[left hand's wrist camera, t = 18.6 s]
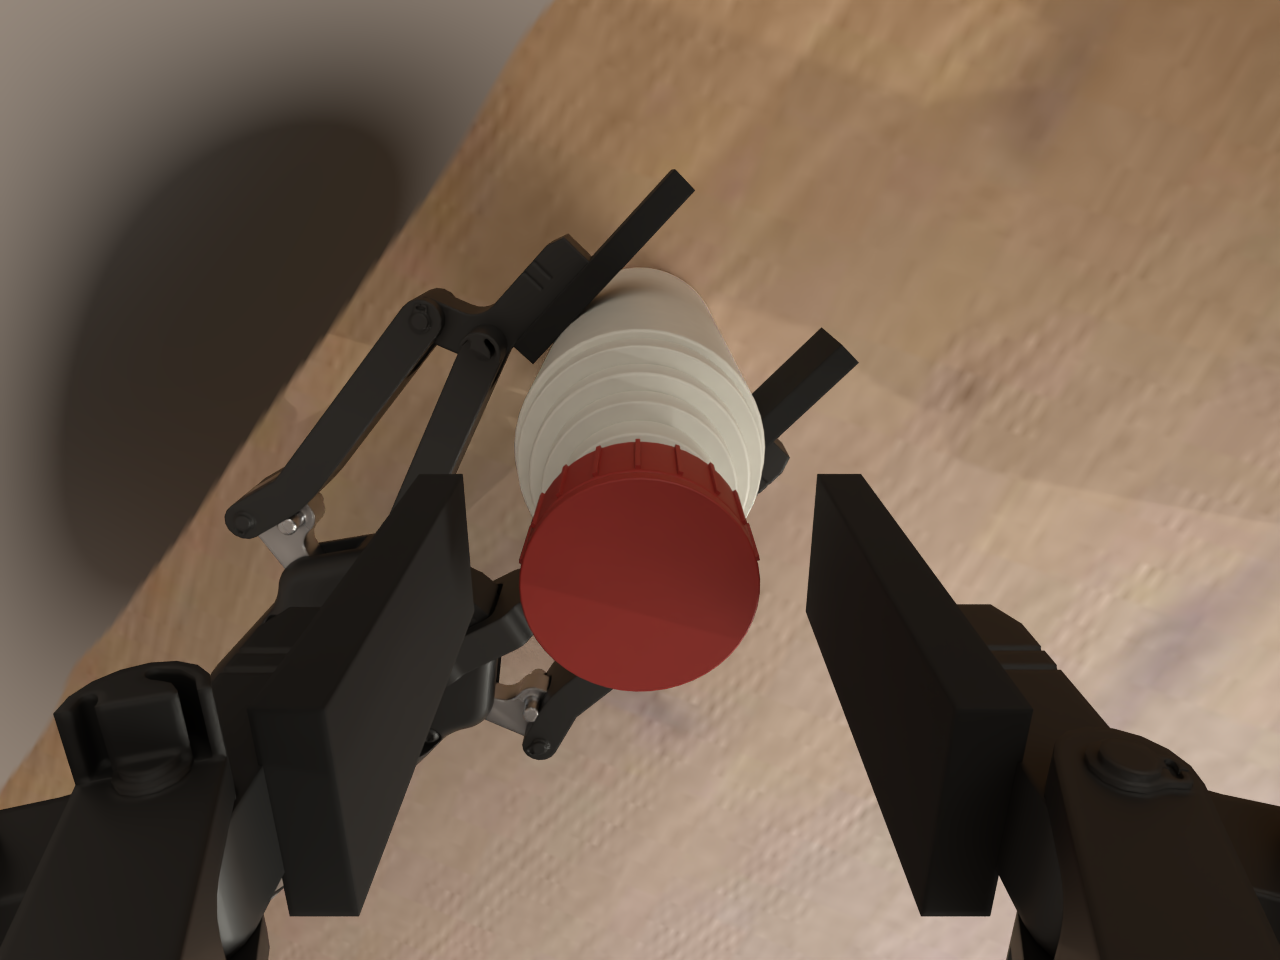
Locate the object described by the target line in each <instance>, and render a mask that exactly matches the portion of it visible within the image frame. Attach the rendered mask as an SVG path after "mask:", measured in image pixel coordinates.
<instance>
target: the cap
mask: <svg viewBox="0 0 1280 960" xmlns="http://www.w3.org/2000/svg"><path fill="white" fill-rule="evenodd" d="M758 560H760V559H759V554H758V551H757V548H756V545H755V541H754V538H753V535H752V532H751V528H750V525H749V523H747V521H746V518H745V515H744V511H743V508H742V505H741V501H740V498H739V495H738V492H737V491H736V490H734V491H732V489H731V488H730V486H729V485H728V483H727V482H726V481H725V480H724V479H723V478H722V476H721V475H720V474H719V473H718V472H717V471H715V468H714V464H712V463H711V462H710V463H709V464H707V463H706V462H704V461H703V460H701V459H700V458H698V457H696V456H694V455H692V454H690V453H689V452H687V451H684V450H681V449H680V445H677V444H675V446H674V447H673V446H669V445H665V444H660V443H653V442H640V439H635V442H626V443H620V444H613V445H610V446H607V447H603V448H602V447H601V445H600V446H597V447H596V450H595V451H593V452H591V453H588V454H586V455H585V456H583V457H581V458H580V459H578V460H576V461H575V462H573V463H572V464H571V465H569V466H568V465H567V464H566V465H564V466H563V468H562V472H561V473H560V474H559V475H558V477H557V478H556V479H555V480H554V481H553V482H552V484H551V485H550V486H549V488H548V489H547V491H546V492H545V494H544V493H541V494H540V496H539V500H538V503H537V506H536V509H535V513H534V516H533V519H532V522H531V525H530V527H529V530H528V533H527V536H526V540H525V543H524V546H523V549H522V552H521V556H520V559H519V563H520V564H521V568H520V573H519V593H520V601H521V605H522V609H523V613H524V616H525V619H526V621H527V623H528V626H529V628H530V630H531V631H532V633H533V635H534V637H535V638H536V640H537V641H538V642H539V644H540V645H541V646H542V648H543V649H544V650H545V651H546V652H547V653H548V654H549V655H550V656H551V657H552V658H553V659H554V660H555V661H556V662H557V663H559V664H560V665H561V666H562V667H564V668H565V669H566V670H568V671H570V672H571V673H573V674H575V675H576V676H578V677H580V678H582V679H585V680H587V681H589V682H591V683H594V684H597V685H600V686H604V687H607V688H612V689H617V690H624V691H655V690H662V689H668V688H671V687H675V686H679V685H682V684H685V683H687V682H690V681H693V680H695V679H697V678H699V677H701V676H703V675H704V674H706V673H708V672H709V671H711V670H712V669H714V668H715V667H717V666H718V665H719V664H721V663H722V662H723V661H724V660H725V659H726V658H727V657H728V656H730V654H731V653H732V652H733V651H734V650H735V649H736V648H737V646H738V645H739V644H740V642H741V641H742V639H743V638H744V636H745V635H746V633H747V632H748V630H749V628H750V626H751V623H752V621H753V619H754V616H755V613H756V610H757V606H758V600H759V594H760V575H759V567H758V562H757V561H758Z"/></svg>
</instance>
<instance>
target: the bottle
mask: <svg viewBox="0 0 1280 960" xmlns="http://www.w3.org/2000/svg"><path fill="white" fill-rule="evenodd" d="M635 439H640V442H653V443H660V444H665V445H669V446H673V447H674V446H675V444H677V445H680V449H681V450H684V451H687V452H689V453H690V454H692V455H694V456H696V457H698V458H700V459H701V460H703V461H704V462H706V463H707V464H709V463H710V462H711V463H712V464H714V468H715V471H717V472H718V473H719V474H720V475H721V476H722V478H723V479H724V480H725V481H726V482H727V483H728V485H729V486H730V488H731V489H732V491H734V490H736V491H737V492H738V495H739V498H740V501H741V505H742V508H743V511H744V515H745V518H746V517H747V516H748V514H749V512H750V510H751V508H752V506H753V504H754V501H755V498H756V495H757V492H758V490H759V485H760V480H761V475H762V469H763V464H764V454H765V440H764V429H763V425H762V420H761V416H760V413H759V410H758V407H757V405H756V402H755V400H754V398H753V396H752V394H751V392H750V390H749V388H748V386H747V384H746V382H745V380H744V378H743V376H742V374H741V372H740V370H739V368H738V366H737V364H736V362H735V360H734V358H733V356H732V354H731V352H730V350H729V348H728V346H727V344H726V342H725V340H724V338H723V336H722V334H721V332H720V330H719V328H718V326H717V324H716V322H715V320H714V318H713V317H712V315H711V313H710V311H709V309H708V307H707V305H706V303H705V302H704V301H703V299H702V298H701V296H700V295H699V294H698V293H697V292H696V291H695V290H694V289H693V288H692V287H691V286H690V285H688V284H687V283H686V282H685V281H683V280H681V279H680V278H678V277H676V276H674V275H672V274H670V273H667V272H665V271H661V270H658V269H652V268H636V267H635V268H627V269H622V270H620V271H619V273H618V274H617V275H616V276H615V277H614V278H613V279H612V280H611V281H610V282H609V283H608V284H607V285H606V286H605V288H604V289H603V290H602V291H601V292H600V293H599V294H598V295H597V296H596V297H595V298H594V299H593V300H592V301H591V303H590V304H589V305H588V306H587V307H586V308H585V309H584V310H583V311H582V312H581V313H580V314H579V315H578V316H577V318H576V319H575V320H574V321H573V322H572V323H571V324H570V325H569V326H568V327H567V328H566V329H565V330H564V331H563V332H562V333H561V335H560V336H559V337H558V338H557V339H556V340H555V341H554V343H553V345H552V347H551V349H550V351H549V353H548V355H547V357H546V359H545V361H544V363H543V365H542V367H541V368H540V370H539V372H538V374H537V376H536V378H535V380H534V382H533V384H532V386H531V388H530V390H529V392H528V394H527V396H526V398H525V400H524V403H523V405H522V408H521V411H520V413H519V417H518V422H517V426H516V432H515V443H514V448H515V462H516V468H517V473H518V478H519V484H520V488H521V491H522V494H523V497H524V500H525V503H526V505H527V507H528V509H529V511H530V513H531V515H532V517H533V516H534V513H535V509H536V506H537V503H538V500H539V496H540V494H541V493H544V494H545V492H546V491H547V489H548V488H549V486H550V485H551V484H552V482H553V481H554V480H555V479H556V478H557V477H558V475H559V474H560V473H561V472H562V468H563V466H564V465H566V464H567V465H568V466H569V465H571V464H572V463H573V462H575V461H576V460H578V459H580V458H581V457H583V456H585V455H586V454H588V453H591V452H593V451H595V450H596V447H597V446H600V445H601V447H602V448H603V447H607V446H610V445H613V444H620V443H626V442H635Z"/></svg>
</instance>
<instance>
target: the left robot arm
mask: <svg viewBox="0 0 1280 960" xmlns="http://www.w3.org/2000/svg"><path fill="white" fill-rule="evenodd" d="M473 613H474V603H473V591H472V580H471V568H470V556H469V544H468V532H467V520H466V508H465V496H464V484H463V474H419V475H418V476H417V478H416V479H415V480H414V482H413V483H412V484H411V486H410V487H409V488H408V490H407V491H406V493H405V494H404V495H403V497H402V498H401V499H400V501H399V502H398V503H397V505H396V506H395V508H394V509H393V510H392V512H391V513H390V514H389V516H388V517H387V518H386V520H385V521H384V523H383V524H382V525H381V527H380V528H379V529H378V531H377V532H376V533H375V535H374V536H373V538H372V539H371V540H370V542H369V543H368V544H367V546H366V547H365V548H364V550H363V551H362V553H361V554H360V555H359V557H358V558H357V559H356V561H355V562H354V563H353V565H352V566H351V568H350V569H349V570H348V572H347V573H346V574H345V576H344V577H343V578H342V580H341V581H340V582H339V584H338V585H337V587H336V588H335V589H334V591H333V592H332V593H331V595H330V596H329V597H328V599H327V600H326V602H325V603H324V604H323V606H322V607H289V608H287V609H286V610H284V611H283V612H281V613H279V614H278V615H276V616H275V617H273V618H271V619H270V620H268V621H267V622H265V623H263V624H262V625H260V626H259V627H258V628H257V629H256V630H255V632H254V633H253V634H252V635H251V636H250V637H249V639H248V640H247V641H246V642H245V643H244V645H243V646H242V647H241V648H240V653H239V654H235V655H234V656H233V658H232V659H231V660H230V661H229V662H228V664H227V665H226V666H225V667H224V672H223V673H219V674H218V676H217V677H216V678H215V679H214V680H213V681H212V682H211V678H210V674H209V673H208V672H206V671H205V670H204V669H202V668H201V667H200V666H198V665H195V664H190V663H185V662H180V661H169V662H153V663H147V664H143V665H139V666H134V667H130V668H126V669H122V670H119V671H117V672H114V673H112V674H109V675H107V676H105V677H102V678H100V679H97V680H95V681H93V682H91V683H89V684H88V685H86V686H85V687H83V688H82V689H80V690H78V691H77V692H75V693H74V694H72V695H71V696H69V697H68V698H67V699H66V700H65V701H64V702H63V704H62V705H61V706H60V707H59V708H58V709H57V710H56V711H55V712H54V714H53V715H54V718H55V721H56V724H57V727H58V731H59V734H60V737H61V740H62V743H63V747H64V750H65V753H66V756H67V759H68V763H69V766H70V769H71V772H72V775H73V779H74V782H75V787H74V790H73V792H72V794H70V795H67V796H63V797H60V798H55V799H50V800H46V801H41V802H36V803H31V804H27V805H22V806H17V807H12V808H8V809H3V810H0V960H268V956H269V948H270V946H269V940H268V933H267V927H266V923H265V918H264V912H265V910H266V908H267V906H268V904H269V902H270V900H271V898H272V896H273V894H274V892H275V890H276V888H277V886H278V884H279V882H280V880H281V878H282V881H283V886H284V891H285V895H286V900H287V905H288V910H289V915H290V916H359V915H360V912H361V910H362V907H363V904H364V902H365V899H366V896H367V894H368V891H369V888H370V886H371V883H372V880H373V878H374V875H375V872H376V870H377V867H378V865H379V862H380V859H381V857H382V854H383V851H384V849H385V846H386V843H387V841H388V838H389V835H390V833H391V830H392V828H393V825H394V822H395V820H396V817H397V814H398V812H399V809H400V806H401V804H402V801H403V798H404V796H405V793H406V791H407V788H408V785H409V783H410V780H411V777H412V775H413V772H414V769H415V767H416V764H417V761H418V759H419V756H420V753H421V751H422V748H423V746H424V743H425V740H426V738H427V735H428V732H429V730H430V727H431V724H432V722H433V719H434V716H435V714H436V711H437V709H438V706H439V703H440V701H441V698H442V695H443V693H444V690H445V687H446V685H447V682H448V679H449V677H450V674H451V672H452V669H453V666H454V664H455V661H456V658H457V656H458V653H459V650H460V648H461V645H462V642H463V640H464V637H465V634H466V632H467V629H468V627H469V624H470V621H471V619H472V616H473ZM806 613H807V616H808V619H809V621H810V624H811V627H812V629H813V632H814V634H815V637H816V640H817V642H818V645H819V648H820V650H821V653H822V656H823V658H824V661H825V664H826V666H827V669H828V672H829V674H830V677H831V679H832V682H833V685H834V687H835V690H836V693H837V695H838V698H839V701H840V703H841V706H842V709H843V711H844V714H845V716H846V719H847V722H848V724H849V727H850V730H851V732H852V735H853V738H854V740H855V743H856V746H857V748H858V751H859V753H860V756H861V759H862V761H863V764H864V767H865V769H866V772H867V775H868V777H869V780H870V783H871V785H872V788H873V791H874V793H875V796H876V798H877V801H878V804H879V806H880V809H881V812H882V814H883V817H884V820H885V822H886V825H887V828H888V830H889V833H890V835H891V838H892V841H893V843H894V846H895V849H896V851H897V854H898V857H899V859H900V862H901V865H902V867H903V870H904V872H905V875H906V878H907V880H908V883H909V886H910V888H911V891H912V894H913V896H914V899H915V902H916V904H917V907H918V910H919V912H920V915H921V916H990V915H991V910H992V905H993V900H994V895H995V891H996V886H997V881H998V876H1000V878H1001V880H1002V882H1003V884H1004V886H1005V888H1006V890H1007V892H1008V894H1009V896H1010V898H1011V900H1012V902H1013V904H1014V906H1015V908H1016V910H1017V914H1016V918H1015V923H1014V927H1013V931H1012V936H1011V940H1010V945H1009V949H1008V954H1007V958H1006V960H1280V806H1275V805H1271V804H1266V803H1261V802H1256V801H1252V800H1247V799H1242V798H1237V797H1233V796H1228V795H1223V794H1219V793H1216V792H1212V791H1208V790H1207V788H1206V786H1205V784H1204V783H1203V781H1202V780H1201V779H1200V777H1199V776H1198V775H1197V773H1196V772H1195V771H1194V769H1193V768H1192V767H1191V766H1190V765H1189V764H1188V763H1186V762H1185V761H1184V760H1182V759H1181V758H1180V757H1178V756H1177V755H1176V754H1174V753H1173V752H1172V751H1170V750H1169V749H1167V748H1165V747H1163V746H1161V745H1159V744H1156V743H1154V742H1152V741H1150V740H1148V739H1146V738H1144V737H1142V736H1139V735H1135V734H1131V733H1128V732H1124V731H1121V730H1117V729H1113V728H1110V727H1109V726H1108V725H1107V724H1106V723H1105V721H1104V720H1103V719H1102V718H1101V717H1100V716H1099V714H1098V713H1097V712H1096V711H1095V710H1094V708H1093V707H1092V706H1091V705H1090V704H1089V703H1088V701H1087V700H1086V699H1085V698H1084V697H1083V695H1082V694H1081V693H1080V692H1079V691H1078V690H1077V688H1076V687H1075V686H1074V685H1073V684H1072V682H1071V681H1070V680H1069V679H1068V678H1067V677H1066V675H1065V674H1064V673H1063V672H1062V671H1061V670H1057V665H1056V664H1055V662H1054V661H1053V660H1052V659H1051V658H1050V657H1049V655H1048V654H1047V653H1046V652H1045V651H1041V646H1040V645H1039V644H1038V642H1037V641H1036V640H1035V639H1034V638H1033V636H1032V635H1031V634H1030V633H1029V632H1028V631H1027V629H1026V628H1025V627H1024V626H1023V625H1022V624H1021V623H1020V622H1018V621H1017V620H1015V619H1013V618H1012V617H1010V616H1008V615H1007V614H1005V613H1004V612H1002V611H1000V610H999V609H997V608H996V607H994V606H992V605H991V604H956V603H955V602H954V600H953V599H952V597H951V596H950V595H949V593H948V592H947V591H946V589H945V588H944V587H943V585H942V584H941V582H940V581H939V580H938V578H937V577H936V576H935V574H934V573H933V572H932V570H931V569H930V568H929V566H928V565H927V563H926V562H925V561H924V559H923V558H922V557H921V555H920V554H919V553H918V551H917V550H916V548H915V547H914V546H913V544H912V543H911V542H910V540H909V539H908V538H907V536H906V535H905V533H904V532H903V531H902V529H901V528H900V527H899V525H898V524H897V523H896V521H895V520H894V518H893V517H892V516H891V514H890V513H889V512H888V510H887V509H886V508H885V506H884V505H883V503H882V502H881V501H880V499H879V498H878V497H877V495H876V494H875V493H874V491H873V490H872V488H871V487H870V486H869V484H868V483H867V482H866V480H865V479H864V478H863V476H862V475H861V474H817V484H816V496H815V508H814V520H813V532H812V544H811V556H810V568H809V580H808V591H807V603H806Z"/></svg>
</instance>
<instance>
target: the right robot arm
mask: <svg viewBox="0 0 1280 960" xmlns="http://www.w3.org/2000/svg"><path fill="white" fill-rule="evenodd" d="M694 191H695V190H694V189H693V188H692V187H691V186H690V184H689V183H688V182H687V181H686V180H685V179H684V178H683V177H682V176H681V175H680V174H679V173H678V172H677V171H676V170H675V169H673V170H671V171H670V172H669V173H668V174H667V175H666V176H665V177H664V178H663V179H662V180H661V182H660V183H659V184H658V185H657V186H656V187H655V188H654V189H653V190H652V191H651V192H650V194H649V195H648V196H647V197H646V198H645V199H644V200H643V201H642V202H641V203H640V204H639V206H638V207H637V208H636V209H635V210H634V211H633V212H632V213H631V214H630V215H629V217H628V218H627V219H626V220H625V221H624V222H623V223H622V224H621V225H620V226H619V227H618V229H617V230H616V231H615V232H614V233H613V234H612V235H611V236H610V237H609V238H608V239H607V241H606V242H605V243H604V244H603V245H602V246H601V247H600V248H599V249H598V250H597V251H596V253H595V254H594V255H593V256H591V255H590V254H589V253H588V252H587V251H586V250H585V249H583V248H582V247H581V246H580V245H579V244H578V243H577V242H576V241H575V240H574V239H573V238H572V237H571V236H570V235H569V234H567V235H564V236H562V237H560V238H558V239H556V240H554V241H552V242H551V243H549V244H548V245H547V246H546V247H545V248H544V249H543V250H542V251H541V253H540V254H539V255H538V256H537V257H536V258H535V259H534V260H533V262H532V263H531V264H530V265H529V266H528V267H527V268H526V269H525V270H524V272H523V273H522V274H521V275H520V276H519V277H518V278H517V279H516V281H515V282H514V283H513V284H512V285H511V286H510V287H509V288H508V290H507V291H506V292H505V293H504V294H503V295H502V296H501V297H500V299H499V300H498V301H497V302H496V303H495V304H493V305H491V306H486V307H479V306H475V305H471V304H469V303H467V302H465V301H462V300H460V299H458V298H455V296H454V295H453V294H452V293H451V292H449V291H447V290H445V289H441V288H435V289H432V290H429V291H427V292H425V293H424V294H422V295H420V296H418V297H416V298H415V299H413V300H411V301H409V302H408V303H407V304H406V305H404V306H403V307H402V309H401V310H400V311H399V313H398V314H397V315H396V317H395V318H394V319H393V321H392V322H391V324H390V325H389V326H388V328H387V329H386V330H385V332H384V333H383V334H382V336H381V337H380V338H379V340H378V341H377V342H376V344H375V345H374V347H373V348H372V349H371V351H370V352H369V353H368V355H367V356H366V357H365V359H364V360H363V361H362V363H361V364H360V366H359V367H358V368H357V370H356V371H355V372H354V374H353V375H352V376H351V378H350V379H349V380H348V382H347V383H346V384H345V386H344V387H343V389H342V390H341V391H340V393H339V394H338V395H337V397H336V398H335V399H334V401H333V402H332V403H331V405H330V406H329V408H328V409H327V410H326V412H325V413H324V414H323V416H322V417H321V418H320V420H319V421H318V422H317V424H316V425H315V426H314V428H313V429H312V431H311V432H310V433H309V435H308V436H307V437H306V439H305V440H304V441H303V443H302V444H301V445H300V447H299V448H298V450H297V451H296V452H295V454H294V455H293V456H292V458H291V459H290V460H289V462H288V463H287V464H286V466H285V467H284V468H282V469H280V470H279V471H277V472H275V473H273V474H272V475H270V476H268V477H267V478H265V479H264V480H263V481H261V482H260V483H259V484H258V485H256V486H255V487H254V488H253V489H252V490H250V491H249V492H248V493H247V494H245V495H244V496H243V497H242V498H241V499H239V500H238V501H237V502H236V503H234V504H233V505H232V506H231V507H230V508H229V509H228V510H227V511H226V514H225V524H226V525H227V527H228V529H229V530H230V531H231V532H232V533H233V534H234V535H236V536H238V537H241V538H246V539H251V538H254V537H257V536H259V537H260V539H261V540H262V541H263V542H264V543H265V545H266V546H267V547H268V548H269V550H270V551H271V552H272V553H273V555H274V556H275V557H276V558H277V560H278V561H279V562H280V563H281V564H282V566H283V567H284V568H285V570H284V571H283V573H282V575H281V577H280V581H279V589H278V595H277V598H276V601H275V603H274V604H273V605H272V606H271V607H270V608H269V609H268V610H267V611H266V612H265V613H264V615H263V616H262V617H261V618H260V619H259V620H258V621H257V622H256V623H255V624H254V625H253V627H252V628H251V629H250V630H249V631H248V632H247V633H246V634H245V635H244V636H243V638H242V639H241V640H240V641H239V642H238V643H237V644H236V645H235V646H234V647H233V648H232V650H231V651H230V652H229V653H228V654H227V655H226V656H225V657H224V658H223V659H222V660H221V662H220V663H219V664H218V665H217V666H216V668H215V669H214V670H213V672H212V673H211V675H210V678H211V682H212V681H213V680H214V679H215V678H216V677H217V676H218V674H219V673H223V672H224V667H225V666H226V665H227V664H228V662H229V661H230V660H231V659H232V658H233V656H234V655H235V654H239V653H240V648H241V647H242V646H243V645H244V643H245V642H246V641H247V640H248V639H249V637H250V636H251V635H252V634H253V633H254V632H255V630H256V629H257V628H258V627H259V626H260V625H262V624H263V623H265V622H267V621H268V620H270V619H271V618H273V617H275V616H276V615H278V614H279V613H281V612H283V611H284V610H286V609H287V608H289V607H322V606H323V604H324V603H325V602H326V600H327V599H328V597H329V596H330V595H331V593H332V592H333V591H334V589H335V588H336V587H337V585H338V584H339V582H340V581H341V580H342V578H343V577H344V576H345V574H346V573H347V572H348V570H349V569H350V568H351V566H352V565H353V563H354V562H355V561H356V559H357V558H358V557H359V555H360V554H361V553H362V551H363V550H364V548H365V547H366V546H367V544H368V543H369V542H370V540H371V539H372V538H373V536H374V535H375V534H369V535H363V536H357V537H351V538H344V539H338V540H332V541H326V542H320V543H318V541H317V540H316V538H315V534H314V528H315V526H316V523H317V522H318V521H319V520H320V519H321V518H322V517H323V515H324V513H325V506H324V502H323V496H322V494H321V493H319V492H320V491H321V490H322V489H323V488H324V487H325V486H326V485H327V484H328V483H329V482H330V481H331V480H332V479H333V478H334V477H335V476H336V475H337V474H338V472H339V471H340V470H341V469H342V468H343V467H344V466H345V464H346V463H347V462H348V460H349V459H350V458H351V456H352V455H353V454H354V453H355V451H356V450H357V449H358V447H359V446H360V445H361V443H362V442H363V441H364V439H365V438H366V437H367V436H368V434H369V433H370V432H371V430H372V429H373V428H374V426H375V425H376V424H377V422H378V421H379V420H380V419H381V417H382V416H383V415H384V413H385V412H386V411H387V409H388V408H389V407H390V405H391V404H392V403H393V402H394V400H395V399H396V398H397V396H398V395H399V394H400V392H401V391H402V390H403V389H404V387H405V386H406V385H407V383H408V382H409V381H410V379H411V378H412V377H413V375H414V374H415V373H416V372H417V370H418V369H419V368H420V366H421V365H422V364H423V362H424V361H425V360H426V358H427V357H428V356H429V355H430V353H431V352H432V351H433V349H434V348H435V347H436V345H438V346H441V347H443V348H445V349H448V350H450V351H452V352H455V353H457V354H458V355H457V357H456V359H455V362H454V364H453V366H452V369H451V371H450V373H449V376H448V378H447V381H446V383H445V385H444V388H443V390H442V392H441V395H440V397H439V399H438V402H437V404H436V406H435V409H434V411H433V413H432V416H431V418H430V420H429V423H428V425H427V428H426V430H425V432H424V435H423V437H422V439H421V442H420V444H419V446H418V449H417V451H416V453H415V456H414V458H413V460H412V463H411V465H410V467H409V470H408V472H407V475H406V477H405V479H404V482H403V484H402V486H401V489H400V491H399V493H398V496H397V498H396V500H395V503H394V505H393V507H392V510H393V509H394V508H395V506H396V505H397V503H398V502H399V501H400V499H401V498H402V497H403V495H404V494H405V493H406V491H407V490H408V488H409V487H410V486H411V484H412V483H413V482H414V480H415V479H416V478H417V476H418V475H419V474H456V472H457V470H458V468H459V465H460V463H461V461H462V459H463V456H464V454H465V452H466V450H467V448H468V445H469V443H470V441H471V439H472V436H473V434H474V432H475V430H476V427H477V425H478V423H479V421H480V419H481V416H482V414H483V412H484V410H485V407H486V405H487V403H488V401H489V399H490V396H491V394H492V392H493V390H494V387H495V385H496V383H497V381H498V378H499V376H500V374H501V372H502V370H503V367H504V365H505V363H506V361H507V358H508V356H509V354H510V352H511V349H512V348H513V347H515V348H516V349H517V350H518V351H519V352H520V353H521V354H522V355H524V356H525V357H526V358H527V359H528V360H529V361H530V362H531V363H532V364H534V363H535V361H536V360H537V359H538V358H539V357H540V356H541V355H542V354H543V353H544V352H545V351H546V350H547V349H548V348H549V346H550V345H551V344H552V343H553V342H554V341H555V340H556V339H557V338H558V337H559V336H560V335H561V333H562V332H563V331H564V330H565V329H566V328H567V327H568V326H569V325H570V324H571V323H572V322H573V321H574V320H575V319H576V318H577V316H578V315H579V314H580V313H581V312H582V311H583V310H584V309H585V308H586V307H587V306H588V305H589V304H590V303H591V301H592V300H593V299H594V298H595V297H596V296H597V295H598V294H599V293H600V292H601V291H602V290H603V289H604V288H605V286H606V285H607V284H608V283H609V282H610V281H611V280H612V279H613V278H614V277H615V276H616V275H617V274H618V273H619V271H620V270H621V269H622V268H623V267H624V266H625V265H626V264H627V263H628V262H629V261H630V260H631V259H632V257H633V256H634V255H635V254H636V253H637V252H638V251H639V250H640V249H641V248H642V247H643V246H644V245H645V244H646V242H647V241H648V240H649V239H650V238H651V237H652V236H653V235H654V234H655V233H656V232H657V231H658V230H659V229H660V227H661V226H662V225H663V224H664V223H665V222H666V221H667V220H668V219H669V218H670V217H671V216H672V215H673V214H674V212H675V211H676V210H677V209H678V208H679V207H680V206H681V205H682V204H683V203H684V202H685V201H686V200H687V199H688V197H689V196H690V195H691V194H692V193H693V192H694ZM858 363H859V362H858V361H857V360H856V359H855V358H854V357H853V356H852V355H851V354H850V353H849V352H848V351H847V350H846V349H845V348H844V347H843V345H842V344H840V343H839V342H838V341H837V340H836V339H835V338H833V337H832V336H831V335H830V334H829V333H827V332H826V331H825V330H824V329H823V328H822V327H821V328H820V329H819V330H818V331H817V332H816V333H815V334H814V335H813V336H812V337H811V338H810V339H809V340H808V341H807V342H806V343H805V344H804V345H803V346H802V347H801V348H800V349H798V350H797V351H796V352H795V353H794V354H793V355H792V356H791V357H790V358H789V359H788V360H787V361H786V362H785V363H784V364H783V365H782V366H781V367H780V368H779V369H778V370H776V371H775V372H774V373H773V374H772V375H771V376H770V377H769V378H768V379H767V380H766V381H765V382H764V383H763V384H762V385H761V386H760V387H759V388H758V389H757V390H756V391H755V392H753V393H752V396H753V398H754V400H755V402H756V405H757V407H758V410H759V413H760V416H761V420H762V425H763V429H764V440H765V454H764V464H763V469H762V475H761V480H760V485H759V490H758V492H757V495H758V493H760V492H762V491H763V490H764V489H765V488H766V487H767V485H768V484H770V483H771V482H773V481H774V480H775V479H776V478H777V477H778V476H779V475H780V474H781V473H782V472H783V470H784V468H785V466H786V464H787V462H788V460H789V458H790V457H789V455H788V453H787V451H786V450H785V448H784V446H783V444H782V443H781V442H780V441H779V440H778V439H777V438H778V437H779V436H780V435H781V434H782V433H783V432H785V431H786V430H787V429H788V428H789V427H790V426H791V425H792V424H793V423H794V422H795V421H796V420H798V419H799V418H800V417H801V416H802V415H803V414H804V413H805V412H806V411H807V410H808V409H809V408H810V407H812V406H813V405H814V404H815V403H816V402H817V401H818V400H819V399H820V398H821V397H822V396H823V395H825V394H826V393H827V392H828V391H829V390H830V389H831V388H832V387H833V386H834V385H835V384H836V383H837V382H839V381H840V380H841V379H842V378H843V377H844V376H845V375H846V374H847V373H848V372H849V371H850V370H852V369H853V368H854V367H855V366H856V365H857V364H858ZM757 495H756V496H757ZM392 510H391V512H392ZM391 512H390V513H391ZM470 568H471V580H472V591H473V603H474V613H473V616H472V619H471V621H470V624H469V627H468V629H467V632H466V634H465V637H464V640H463V642H462V645H461V648H460V650H459V653H458V656H457V658H456V661H455V664H454V666H453V669H452V672H451V674H450V677H449V679H448V682H447V685H446V687H445V690H444V693H443V695H442V698H441V701H440V703H439V706H438V709H437V711H436V714H435V716H434V719H433V722H432V724H431V727H430V730H429V732H428V735H427V738H426V740H425V743H424V746H423V748H422V751H421V753H420V756H419V759H418V761H417V764H418V763H419V762H420V761H421V760H422V759H424V758H425V757H426V756H427V755H428V754H429V753H430V752H431V751H432V750H433V749H434V748H435V747H436V746H437V744H438V743H439V742H440V741H441V740H442V739H443V738H445V737H446V736H447V735H449V734H451V733H453V732H455V731H458V730H461V729H465V728H469V727H473V726H475V725H477V724H479V723H480V722H482V721H483V720H484V719H485V720H488V721H490V722H492V723H495V724H497V725H499V726H502V727H504V728H507V729H509V730H511V731H514V732H516V733H519V734H521V735H523V736H524V739H523V744H522V745H523V750H524V752H525V753H526V754H527V755H528V756H529V757H531V758H533V759H537V760H544V759H547V758H550V757H552V755H553V754H554V753H555V752H556V750H557V749H558V747H559V745H560V744H561V742H562V740H563V739H564V737H565V735H566V734H567V732H568V730H569V729H570V727H571V725H572V724H573V722H574V720H575V719H576V717H577V716H579V715H580V714H581V713H583V712H584V711H585V710H586V709H588V708H589V707H590V706H592V705H593V704H594V703H596V702H597V701H598V700H599V699H601V698H602V697H603V696H605V695H606V694H607V693H608V692H610V691H611V690H612V688H607V687H604V686H600V685H597V684H594V683H591V682H589V681H587V680H585V679H582V678H580V677H578V676H576V675H575V674H573V673H571V672H570V671H568V670H566V669H565V668H564V667H562V666H561V665H560V664H559V663H557V662H556V661H555V662H554V663H553V664H552V665H551V667H550V668H549V670H548V671H547V673H546V672H545V671H544V670H542V669H535V670H534V671H532V673H531V674H529V675H527V676H525V677H524V678H523V679H522V680H521V681H520V682H518V683H516V684H514V685H503V684H500V683H499V675H500V665H501V656H504V655H506V654H508V653H510V652H512V651H514V650H516V649H518V648H520V647H521V646H523V645H524V644H525V643H526V642H527V641H528V640H529V639H530V638H531V637H532V635H533V633H532V631H531V630H530V628H529V626H528V623H527V621H526V619H525V616H524V613H523V609H522V605H521V601H520V593H519V573H520V569H517V570H514V571H512V572H510V573H508V574H506V575H504V576H502V577H500V578H498V579H496V580H494V581H492V580H491V579H490V578H488V577H487V576H486V575H485V574H483V573H482V572H480V571H478V570H476V569H474V568H472V567H470ZM417 764H416V765H417ZM283 888H284V886H283V881H282V878H281V880H280V882H279V884H278V886H277V888H276V890H275V892H274V894H273V896H272V898H273V897H274V896H276V895H277V894H278V893H279V892H280V891H281V890H282V889H283ZM272 898H271V899H272Z"/></svg>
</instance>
